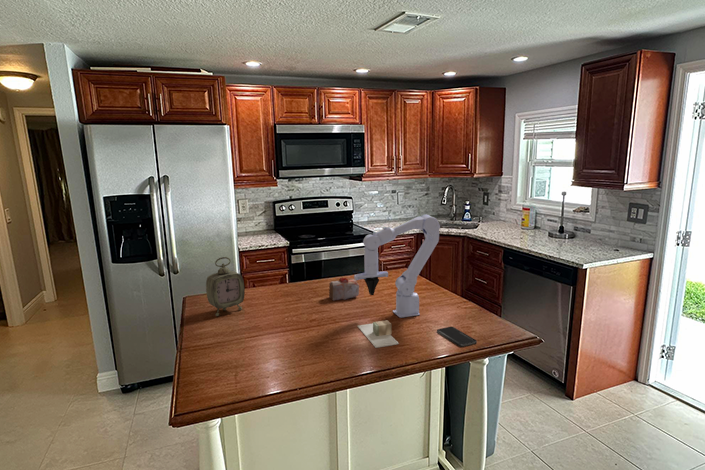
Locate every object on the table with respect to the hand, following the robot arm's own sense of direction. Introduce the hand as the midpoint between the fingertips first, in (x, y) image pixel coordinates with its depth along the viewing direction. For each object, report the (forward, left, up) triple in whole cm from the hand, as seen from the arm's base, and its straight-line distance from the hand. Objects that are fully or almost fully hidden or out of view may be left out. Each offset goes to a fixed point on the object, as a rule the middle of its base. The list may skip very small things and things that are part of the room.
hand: (371, 294), depth 174 cm
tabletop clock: (+59, -27, -10) cm, 66 cm away
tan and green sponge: (0, +19, -7) cm, 20 cm away
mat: (+5, +19, -9) cm, 22 cm away
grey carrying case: (+4, -26, -10) cm, 28 cm away
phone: (-22, +31, -10) cm, 39 cm away
